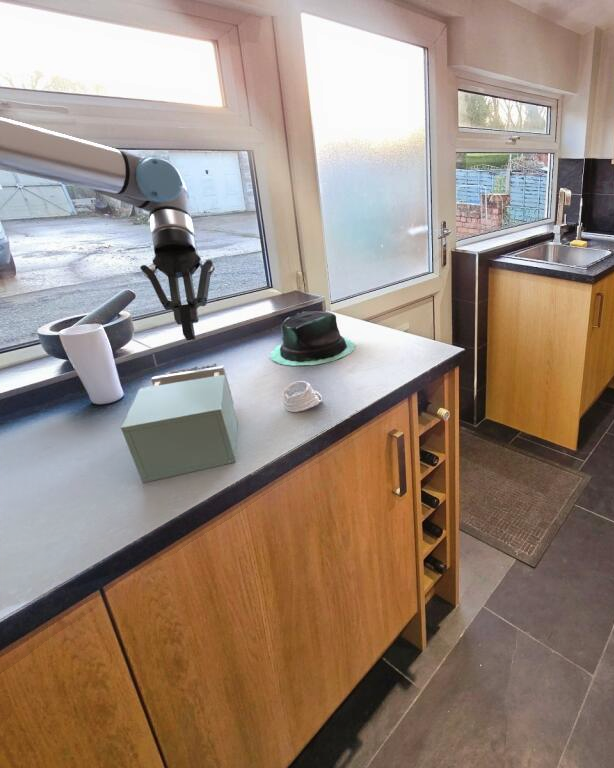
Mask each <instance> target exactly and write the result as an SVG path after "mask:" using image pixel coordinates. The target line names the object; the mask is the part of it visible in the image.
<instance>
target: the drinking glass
mask: <svg viewBox="0 0 614 768" xmlns="http://www.w3.org/2000/svg"><path fill="white" fill-rule="evenodd" d="M58 336H59V340H60V343H61V345H62V347H63V350H64V352H65V354H66V356H67V358H68V359H69V362H70V363H71V365H72V367H73V369H74V371H75V372H76V374H77V376H78V378H79V380H80V382H81V383H82V386H83V387H84V389H85V391H86V393H87V395H88V398H89V400H90V402H91V403H92V404H94V405H107V404H112V403H114V402H117V401H119V400H120V399H122V398H123V397H124V393H125V392H124V390H123V387H122V383H121V380H120V376H119V373H118V369H117V365H116V362H115V358H114V354H113V353H114V352H113V350H112V346H111V343H110V340H109V338H108V335H107V332H106V330H105V328H104V325H102V324H100V323H85V324H78V325H73V326H69V327H66V328H64V329H61V330H60V331H58Z"/></svg>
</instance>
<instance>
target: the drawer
mask: <svg viewBox="0 0 614 768" xmlns="http://www.w3.org/2000/svg"><path fill="white" fill-rule="evenodd" d="M219 375H225V378H226V382H227V385H228V389H229V392H230V396H231V400H232V403H233V406H234V404H235V401H234V398H233V397H234V396H233V394H232V391H231V387H230V383H229V380H228V376H227V373H226V369H225V366H224V365H220V366H217V367H212V368H206V369H199V370H193V371H187V372H180V373H174V374H167V375H164V374H162V375H156V376H152V377H151V383H152V386H158V385H164V384H170V383H176V382H182V381H189V380H195V379H201V378H207V377H213V376H219Z"/></svg>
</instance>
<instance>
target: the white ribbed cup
mask: <svg viewBox="0 0 614 768" xmlns="http://www.w3.org/2000/svg"><path fill="white" fill-rule="evenodd" d="M296 392H300V393H298V394H295V393H296ZM281 398H282V402H283V407H284V409H285V410H287V411H288V412H292V413H299V412H303V411H306V410H309V409H312V408H314V407H316V406H317V405H319V404H320V403H322V401H323V399H324V398H323V396H322V394H320V393H319V391H316V390H315V389H313V387H312V384H310V383H308V382H307V381H305V380H299V381H295V382H292V383H290V384H289V385H288V386H287V387H285V388H284V389H283V390H282V394H281Z"/></svg>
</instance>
